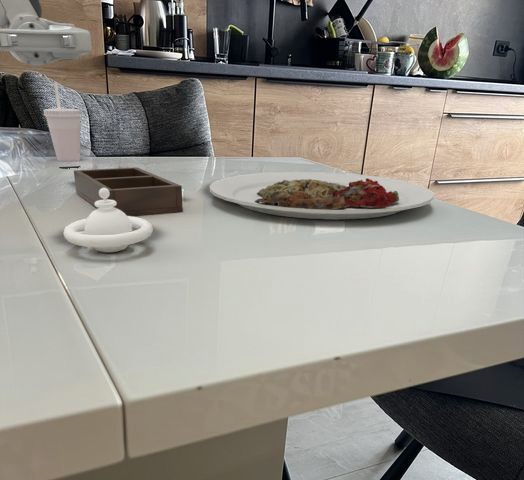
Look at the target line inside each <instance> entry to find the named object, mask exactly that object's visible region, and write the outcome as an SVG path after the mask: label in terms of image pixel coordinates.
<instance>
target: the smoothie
mask: <svg viewBox="0 0 524 480" xmlns="http://www.w3.org/2000/svg"><path fill="white" fill-rule="evenodd" d="M53 85H54V86H53V87H54V94H55V101H56V102H55V103H56V108H53V107H52V108H45V109H43V116H44V117H45V118H46V122H47V126H48V130H49V134H50V138H51V141H52V145H53V149H54V153H55V157H56V160H57V161H58V162H78V161H81V129H82V128H81V127H82V126H81V117H83V113H82V110H81V109H75V108H63V107H61V101H60V93H59V84H58V81H53ZM79 167H80V168H81V165H73V166H72V165H71V166H70V165H69V166H58V168H59V169H62V170H71V169H70V168H77V169H80V168H79ZM68 168H69V169H68Z"/></svg>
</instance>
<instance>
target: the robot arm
mask: <svg viewBox="0 0 524 480" xmlns="http://www.w3.org/2000/svg"><path fill="white" fill-rule="evenodd" d="M42 13H43V9H42V6H41V2H40V0H0V52H9V53H10V54H11V56H12V57H13V58H14V59H16V60H17V61H19V62H20V63H23V64H26V65H30V66H33V67H34V66H35V67H39V66H44V65H49V64H52V63H55V62H60V61H61V62H62V61H73V60H78V59H79V58H80V57H81V56H85V55H89V54H91V53H92V52H93V51H92V50H93V43H92V37H91V33H90V31H89V30H87V29H84V28H80V27H76V26H75V24H74V23H68V22H60V21H53V20H49V19H46V18H43V17H42ZM4 27H5V28H4Z"/></svg>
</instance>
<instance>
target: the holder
mask: <svg viewBox="0 0 524 480" xmlns="http://www.w3.org/2000/svg"><path fill="white" fill-rule="evenodd" d="M73 176H74V185H75V193H76V194H77V196H79V197H81V198H82V199H84V200H85V201H86V202H87V203H89V204H90V205H91V206H93V207H94V208H95V209H98V208H99V207H96V206H95V205H94V203H95V202H96V201H98V200H104V199H103V198H101V197H100V196H99V190H100V189H101V188H107V189H108V190H109V192H110V195H109V197H108V198H106V200H114V201H116V203H117V204H116V206H114V208H117V209H119V210H121V211H122V212H124V213H125V214H126V215H127V216H132V217H137V216H147V215H158V214H169V213H181V212H183V211H184V208H183V187H182V185H181V184H178V183H175V182H173V181H170V180H168V179H167V178H164V177H161V176H159V175H156V174H154V173H152V172H149V171H147V170H145V169H142V168H140V167H137V166H136V167H115V168H114V167H113V168H94V169H93V168H92V169H73Z"/></svg>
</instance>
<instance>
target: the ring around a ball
mask: <svg viewBox="0 0 524 480" xmlns="http://www.w3.org/2000/svg"><path fill="white" fill-rule="evenodd" d="M109 195H110V192H109V190H108V189H107V188H101V189H100V190H99V196H100V197H101V198H103V199H104V200H98V201H96V202H95V203H94V205H95V206H96V207H99V208H98V209H97V208H96V207H95V209H94V210H93V211H92V212H90V213H89V215H88V216H87V218H83V219H79V220H76V221H73V222H71V223H69V224H68V225H66V226H65V228H64V229H63V237H64V239H65V240H66V241H67V242H69V243H70V244H73V245H76V246H80V247H85V248H93V249H94V250H95V251H97V252H101V253H116V252H121V251H123V250H125V249H127V248H128V247H129V246H130V245H133V244H136V243H139V242H142V241H145V240H146V239H148V238H150V237H151V235H152V234H153V232H154V231H153V230H154V229H153V225H152V223H151V222H150V221H148V220H147V219H144V218H141V217H137V216H127V215H126V214H125V213H124V212H122V211H121V210H119V209H117V208H114V206H116V204H117V203H116V201H114V200H106V198H108V197H109ZM133 229H136V230H133Z"/></svg>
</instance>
